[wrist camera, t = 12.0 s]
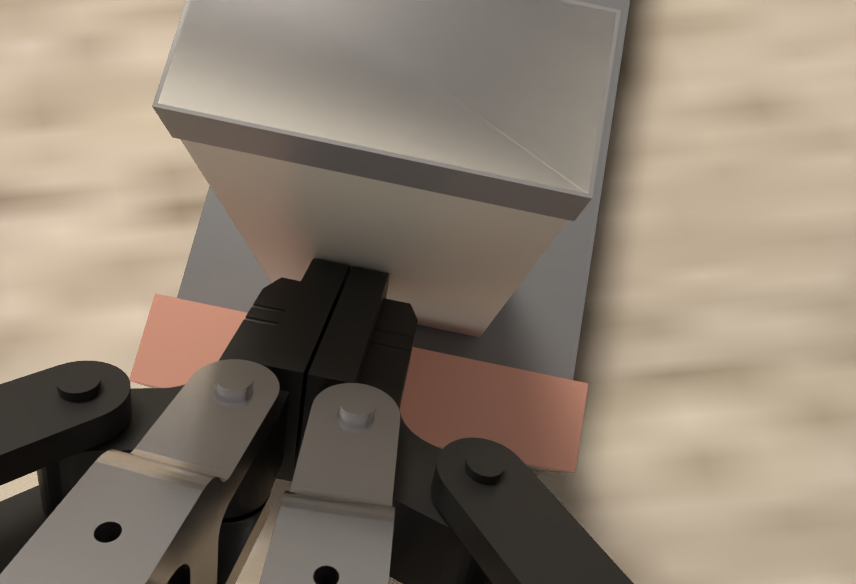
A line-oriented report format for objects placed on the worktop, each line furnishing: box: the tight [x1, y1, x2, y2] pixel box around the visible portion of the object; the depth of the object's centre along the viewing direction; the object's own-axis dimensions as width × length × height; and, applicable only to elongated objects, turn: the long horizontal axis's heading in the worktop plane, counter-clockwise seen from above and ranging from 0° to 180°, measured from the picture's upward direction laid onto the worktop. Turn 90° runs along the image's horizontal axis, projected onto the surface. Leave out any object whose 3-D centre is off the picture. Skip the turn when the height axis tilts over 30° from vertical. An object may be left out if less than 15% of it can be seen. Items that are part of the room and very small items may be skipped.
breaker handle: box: [152, 0, 621, 337], centre depth 13 cm, size 2×5×10 cm, turn 79°
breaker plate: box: [129, 0, 630, 472], centre depth 20 cm, size 22×10×4 cm, turn 169°
